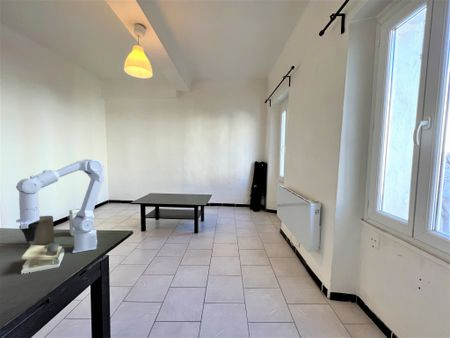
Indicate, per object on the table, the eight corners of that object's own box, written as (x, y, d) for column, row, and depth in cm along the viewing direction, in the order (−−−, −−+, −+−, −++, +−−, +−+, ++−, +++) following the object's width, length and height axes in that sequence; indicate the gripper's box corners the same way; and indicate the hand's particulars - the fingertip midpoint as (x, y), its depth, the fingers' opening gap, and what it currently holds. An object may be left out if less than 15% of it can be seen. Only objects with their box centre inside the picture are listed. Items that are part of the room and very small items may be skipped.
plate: (62, 248, 98) (65, 237, 99) (57, 259, 88) (60, 247, 88) (30, 247, 93) (34, 236, 93) (21, 259, 82) (25, 246, 83)
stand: (64, 254, 99) (64, 248, 99) (58, 266, 88) (58, 260, 88) (31, 259, 94) (31, 253, 93) (21, 274, 82) (21, 267, 82)
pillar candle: (59, 241, 114) (57, 213, 114) (41, 248, 105) (40, 218, 104) (42, 240, 115) (41, 213, 115) (23, 248, 106) (22, 218, 105)
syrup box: (81, 231, 129) (80, 207, 128) (84, 234, 125) (83, 209, 124) (69, 234, 124) (68, 209, 124) (72, 236, 121) (72, 211, 120)
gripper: (22, 205, 92) (23, 236, 92) (8, 213, 79) (10, 249, 80) (43, 203, 95) (44, 234, 96) (33, 211, 83) (35, 245, 83)
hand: (30, 240), depth 88 cm, fingers closed
